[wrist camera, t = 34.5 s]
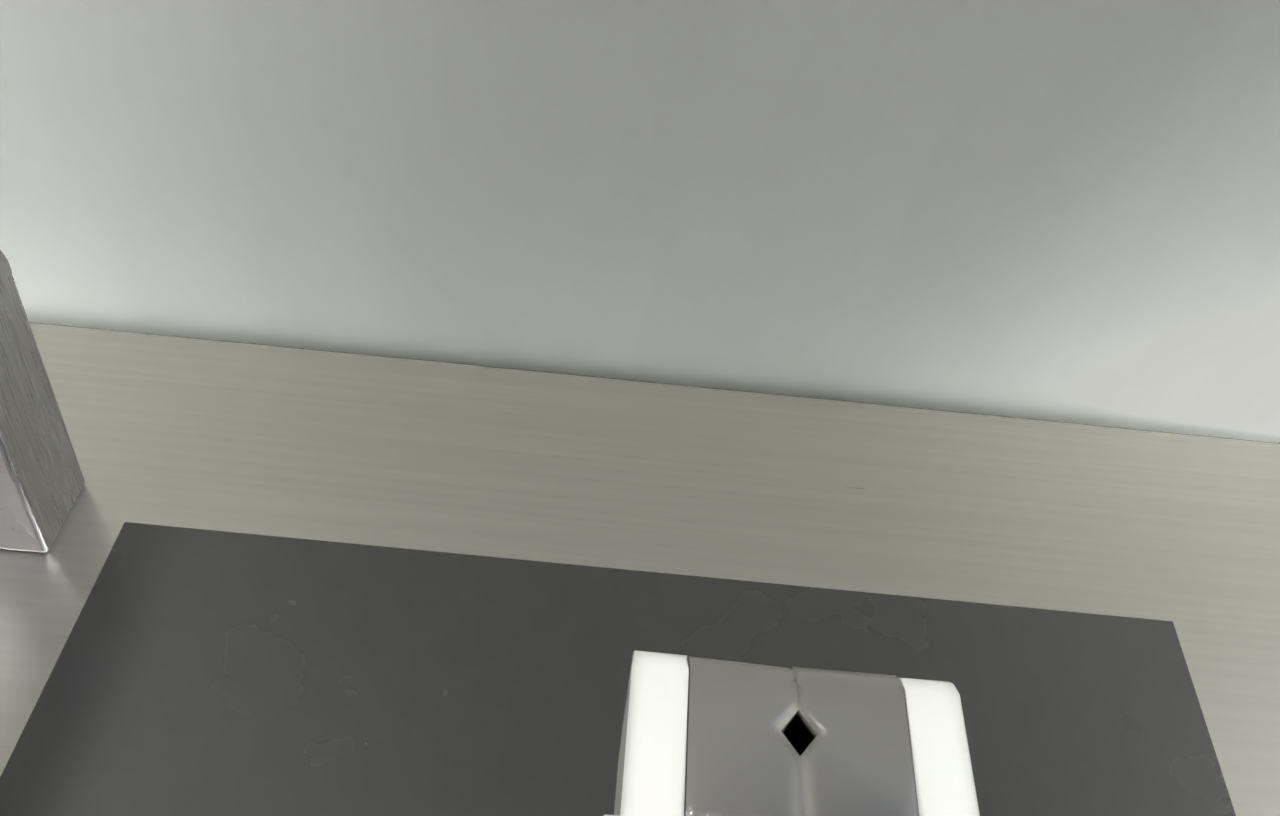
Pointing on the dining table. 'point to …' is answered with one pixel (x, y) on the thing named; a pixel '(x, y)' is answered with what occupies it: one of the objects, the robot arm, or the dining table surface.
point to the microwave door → (589, 581)
